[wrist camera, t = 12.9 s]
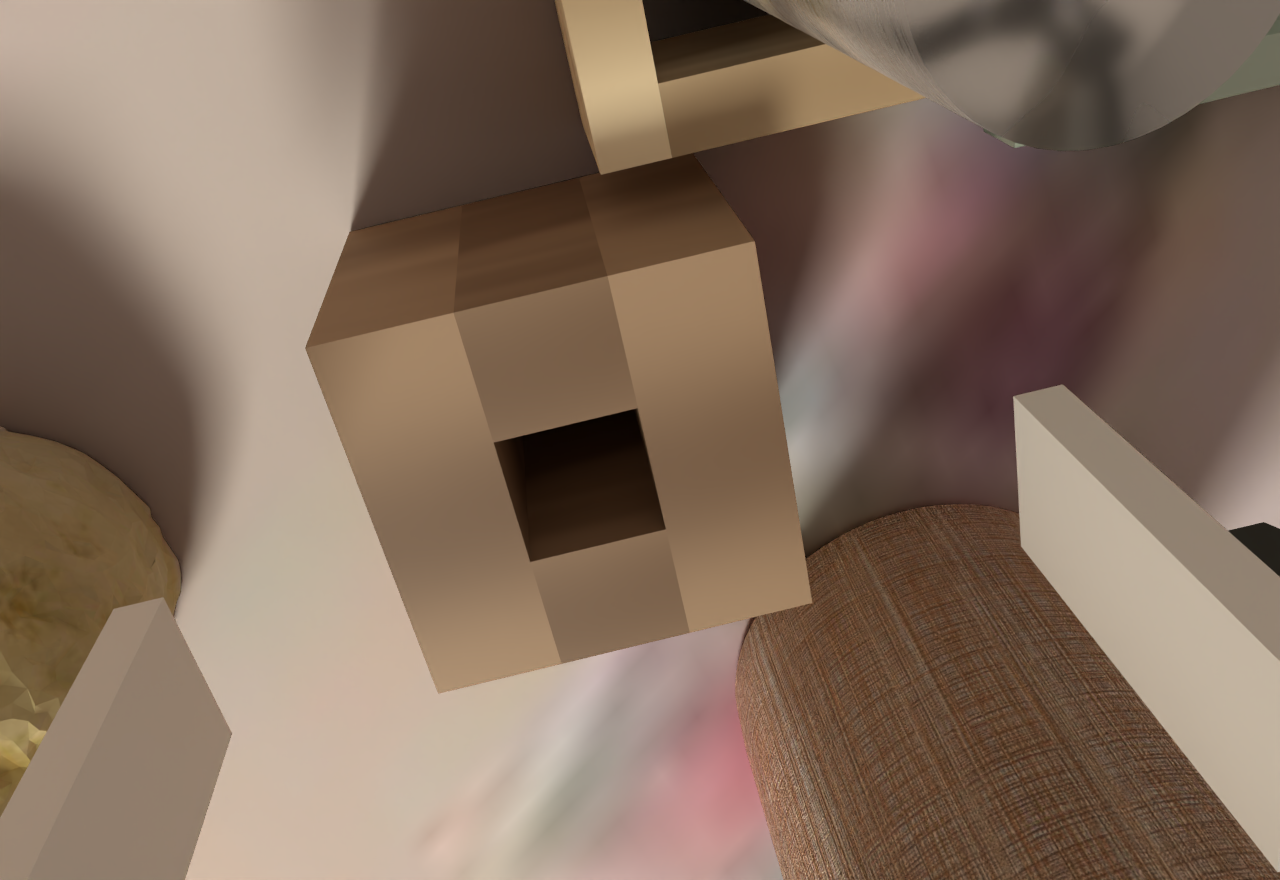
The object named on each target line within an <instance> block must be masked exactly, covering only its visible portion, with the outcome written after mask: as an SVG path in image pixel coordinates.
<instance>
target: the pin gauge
mask: <svg viewBox="0 0 1280 880" xmlns="http://www.w3.org/2000/svg"><path fill="white" fill-rule="evenodd" d="M744 1H746V2H748V3H750V4H752V5H754V6H755V7H757V8H759V9H761V10H763V11H765V12H767V13H769V14H770V15H772V16H774V17H776V18H778V19H780V20H782V21H784V22H785V23H787V24H789V25H791V26H793V27H795V28H797V29H799V30H800V31H802V32H804V33H806V34H808V35H810V36H812V37H814V38H815V39H817V40H819V41H821V42H823V43H825V44H827V45H829V46H830V47H832V48H834V49H836V50H838V51H840V52H842V53H843V54H845V55H847V56H849V57H851V58H853V59H855V60H857V61H858V62H860V63H862V64H864V65H866V66H868V67H870V68H872V69H873V70H875V71H877V72H879V73H881V74H883V75H885V76H887V77H888V78H890V79H892V80H894V81H896V82H898V83H900V84H902V85H903V86H905V87H907V88H909V89H911V90H913V91H915V92H917V93H918V94H920V95H922V96H924V97H926V98H928V99H930V100H932V101H933V102H935V103H937V104H939V105H941V106H943V107H945V108H947V109H948V110H950V111H952V112H954V113H956V114H958V115H960V116H962V117H963V118H965V119H967V120H969V121H971V122H973V123H975V124H976V125H978V126H980V127H982V128H984V129H986V130H988V131H990V132H991V133H994V134H996V135H998V136H1001V137H1003V138H1005V139H1007V140H1010V141H1012V142H1015V143H1018V144H1022V145H1026V146H1030V147H1034V148H1038V149H1047V150H1057V151H1076V150H1090V149H1096V148H1102V147H1108V146H1113V145H1116V144H1119V143H1123V142H1126V141H1129V140H1133V139H1136V138H1138V137H1141V136H1143V135H1145V134H1148V133H1150V132H1152V131H1154V130H1157V129H1159V128H1161V127H1163V126H1165V125H1167V124H1168V123H1170V122H1172V121H1173V120H1175V119H1177V118H1179V117H1180V116H1182V115H1184V114H1185V113H1187V112H1188V111H1190V110H1191V109H1192V108H1194V107H1195V106H1197V105H1198V104H1199V103H1201V102H1202V101H1203V100H1205V99H1206V98H1207V97H1209V96H1210V95H1211V94H1212V93H1213V92H1214V91H1216V90H1217V89H1218V88H1219V87H1220V86H1221V85H1222V84H1223V83H1224V82H1226V81H1227V80H1228V79H1229V78H1230V77H1231V76H1232V75H1233V74H1234V73H1235V72H1236V71H1237V70H1238V68H1239V67H1240V66H1241V65H1242V64H1243V63H1244V62H1245V61H1246V60H1247V59H1248V57H1249V56H1250V55H1251V54H1252V53H1253V52H1254V50H1255V49H1256V48H1257V46H1258V45H1259V44H1260V42H1261V41H1262V40H1263V38H1264V37H1265V36H1266V34H1267V33H1268V31H1269V30H1270V29H1271V27H1272V26H1273V24H1274V22H1275V21H1276V19H1277V17H1278V16H1279V14H1280V0H744Z"/></svg>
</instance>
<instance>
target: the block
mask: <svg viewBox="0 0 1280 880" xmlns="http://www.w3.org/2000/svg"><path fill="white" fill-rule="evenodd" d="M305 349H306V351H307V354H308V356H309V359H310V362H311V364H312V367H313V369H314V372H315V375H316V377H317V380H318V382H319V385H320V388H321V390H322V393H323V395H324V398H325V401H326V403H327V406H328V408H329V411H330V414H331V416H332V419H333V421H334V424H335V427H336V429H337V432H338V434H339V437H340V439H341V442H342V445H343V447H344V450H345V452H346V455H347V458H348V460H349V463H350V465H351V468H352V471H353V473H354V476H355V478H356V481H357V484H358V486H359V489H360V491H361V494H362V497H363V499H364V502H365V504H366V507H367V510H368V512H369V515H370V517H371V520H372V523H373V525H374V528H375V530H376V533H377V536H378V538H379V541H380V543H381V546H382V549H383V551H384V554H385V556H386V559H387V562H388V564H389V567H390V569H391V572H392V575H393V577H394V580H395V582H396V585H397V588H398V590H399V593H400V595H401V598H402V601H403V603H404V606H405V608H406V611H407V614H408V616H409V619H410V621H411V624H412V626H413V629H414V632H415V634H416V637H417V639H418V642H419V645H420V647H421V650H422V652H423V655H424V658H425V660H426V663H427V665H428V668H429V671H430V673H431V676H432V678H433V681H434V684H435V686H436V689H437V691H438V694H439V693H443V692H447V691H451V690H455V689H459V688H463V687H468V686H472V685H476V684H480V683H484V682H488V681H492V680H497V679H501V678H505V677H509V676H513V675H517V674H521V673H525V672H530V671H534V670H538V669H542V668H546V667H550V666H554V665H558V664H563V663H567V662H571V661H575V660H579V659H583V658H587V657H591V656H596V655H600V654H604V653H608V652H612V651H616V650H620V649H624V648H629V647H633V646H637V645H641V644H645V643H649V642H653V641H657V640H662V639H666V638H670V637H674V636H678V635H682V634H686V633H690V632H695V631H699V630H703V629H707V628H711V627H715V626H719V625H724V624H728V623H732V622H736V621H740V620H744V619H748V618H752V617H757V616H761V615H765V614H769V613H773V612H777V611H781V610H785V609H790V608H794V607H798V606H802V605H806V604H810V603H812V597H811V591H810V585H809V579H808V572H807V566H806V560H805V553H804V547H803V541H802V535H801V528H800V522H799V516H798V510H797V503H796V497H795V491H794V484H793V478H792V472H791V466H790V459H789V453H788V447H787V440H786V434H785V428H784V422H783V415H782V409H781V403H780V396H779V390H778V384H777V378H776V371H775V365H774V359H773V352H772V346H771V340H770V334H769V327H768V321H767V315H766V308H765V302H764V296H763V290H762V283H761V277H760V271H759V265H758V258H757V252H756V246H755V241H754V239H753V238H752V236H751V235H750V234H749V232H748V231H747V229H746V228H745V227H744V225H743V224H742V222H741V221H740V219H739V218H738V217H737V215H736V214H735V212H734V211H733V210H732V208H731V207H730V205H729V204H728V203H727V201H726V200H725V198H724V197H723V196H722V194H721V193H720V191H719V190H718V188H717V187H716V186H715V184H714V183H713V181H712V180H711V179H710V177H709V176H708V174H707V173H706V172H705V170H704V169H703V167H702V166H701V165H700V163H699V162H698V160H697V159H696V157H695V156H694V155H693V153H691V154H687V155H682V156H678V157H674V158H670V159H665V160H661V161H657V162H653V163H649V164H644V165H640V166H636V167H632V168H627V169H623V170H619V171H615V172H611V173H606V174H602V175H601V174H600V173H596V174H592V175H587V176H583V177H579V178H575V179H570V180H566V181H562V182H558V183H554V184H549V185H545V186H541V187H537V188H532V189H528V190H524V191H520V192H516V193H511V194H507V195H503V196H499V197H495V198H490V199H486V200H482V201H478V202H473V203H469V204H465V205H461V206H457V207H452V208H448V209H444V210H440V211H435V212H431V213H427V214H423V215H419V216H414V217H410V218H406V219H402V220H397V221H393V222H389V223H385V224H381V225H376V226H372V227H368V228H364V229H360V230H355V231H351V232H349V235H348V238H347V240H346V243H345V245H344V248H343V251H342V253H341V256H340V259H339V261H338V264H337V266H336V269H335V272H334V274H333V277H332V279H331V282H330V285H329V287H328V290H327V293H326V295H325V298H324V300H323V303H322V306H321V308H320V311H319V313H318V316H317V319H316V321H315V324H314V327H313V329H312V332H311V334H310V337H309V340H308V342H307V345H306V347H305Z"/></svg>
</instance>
